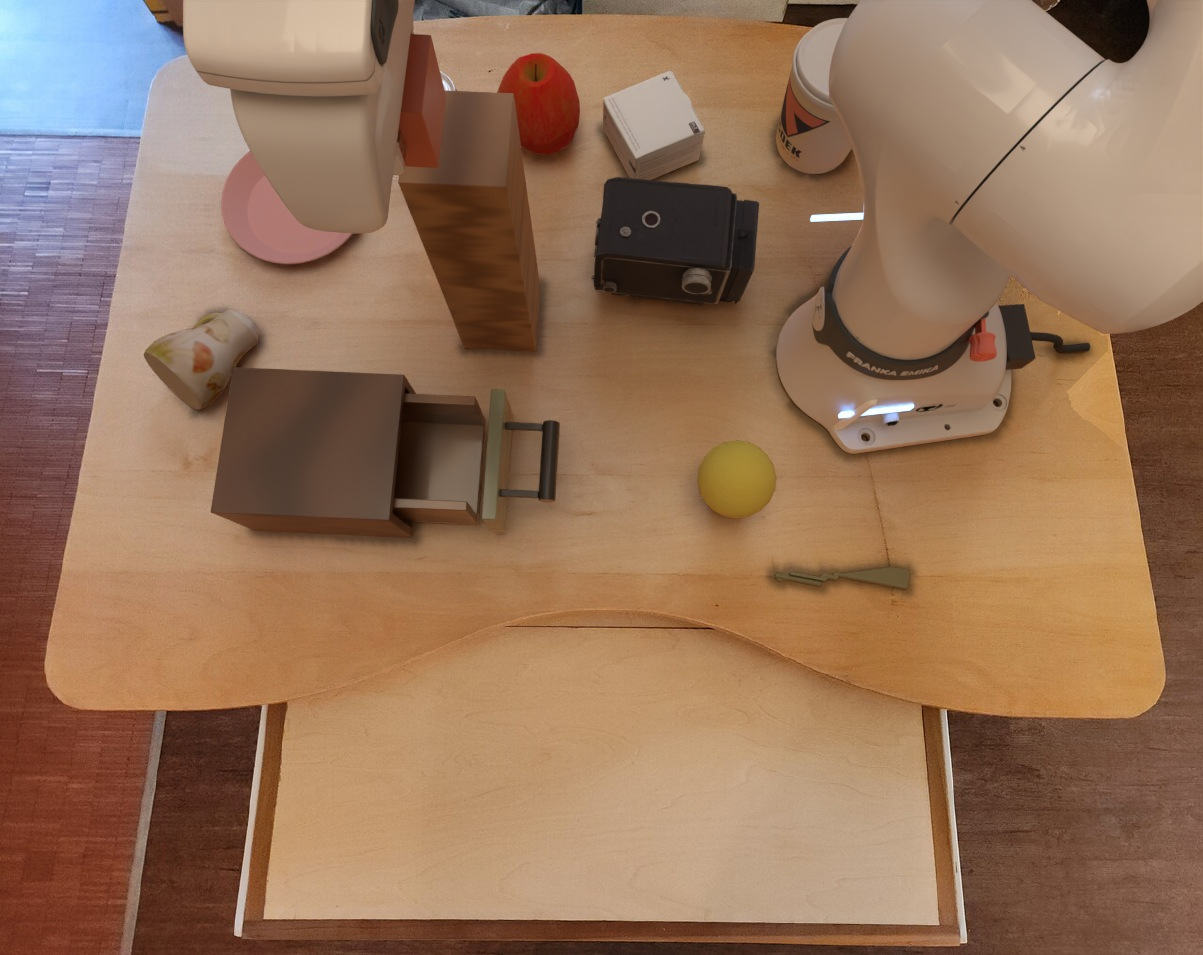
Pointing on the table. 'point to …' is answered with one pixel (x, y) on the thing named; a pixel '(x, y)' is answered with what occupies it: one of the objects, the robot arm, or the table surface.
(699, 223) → the camera
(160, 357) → the mug
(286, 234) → the plate
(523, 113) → the apple
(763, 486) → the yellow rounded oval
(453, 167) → the stand
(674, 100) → the small box
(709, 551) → the table surface
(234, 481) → the cabinet
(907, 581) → the toy shotgun
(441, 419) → the drawer
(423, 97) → the block
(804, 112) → the coffee cup
